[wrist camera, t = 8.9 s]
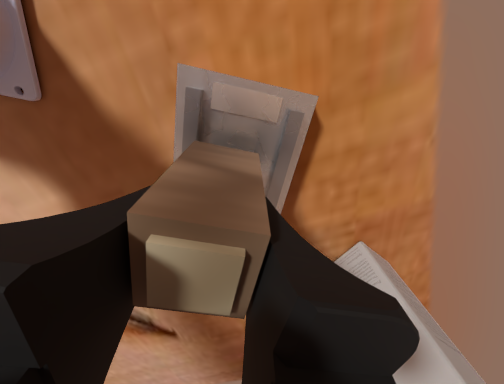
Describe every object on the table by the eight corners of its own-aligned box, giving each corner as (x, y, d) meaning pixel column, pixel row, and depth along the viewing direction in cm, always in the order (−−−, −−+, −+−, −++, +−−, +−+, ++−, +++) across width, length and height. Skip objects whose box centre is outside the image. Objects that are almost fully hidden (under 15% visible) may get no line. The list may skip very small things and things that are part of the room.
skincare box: (341, 291, 23) (422, 477, 12) (311, 273, 22) (373, 463, 11) (389, 257, 21) (541, 447, 10) (359, 235, 19) (496, 425, 9)
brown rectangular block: (189, 197, 13) (128, 315, 6) (194, 140, 11) (119, 219, 5) (246, 207, 13) (244, 328, 7) (258, 153, 12) (271, 243, 5)
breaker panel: (175, 270, 21) (165, 295, 19) (187, 65, 13) (172, 61, 11) (253, 281, 22) (253, 306, 19) (309, 94, 14) (322, 97, 11)
